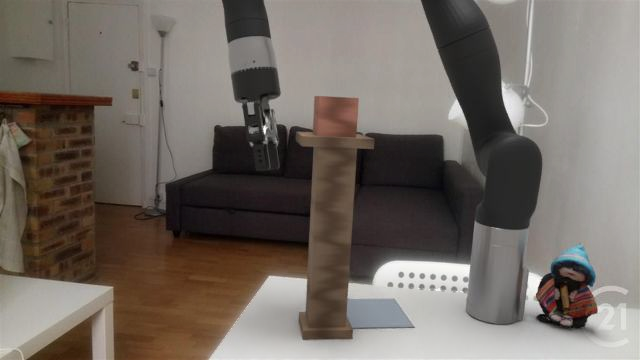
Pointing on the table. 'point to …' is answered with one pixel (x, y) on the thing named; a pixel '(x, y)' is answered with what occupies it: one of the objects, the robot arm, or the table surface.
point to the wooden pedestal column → (330, 234)
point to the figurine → (568, 290)
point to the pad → (376, 314)
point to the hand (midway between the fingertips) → (268, 170)
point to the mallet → (335, 116)
